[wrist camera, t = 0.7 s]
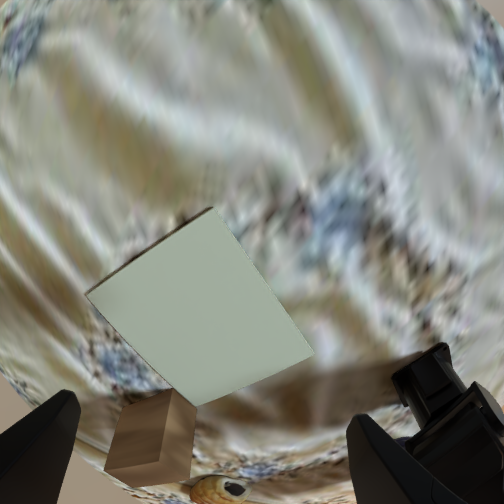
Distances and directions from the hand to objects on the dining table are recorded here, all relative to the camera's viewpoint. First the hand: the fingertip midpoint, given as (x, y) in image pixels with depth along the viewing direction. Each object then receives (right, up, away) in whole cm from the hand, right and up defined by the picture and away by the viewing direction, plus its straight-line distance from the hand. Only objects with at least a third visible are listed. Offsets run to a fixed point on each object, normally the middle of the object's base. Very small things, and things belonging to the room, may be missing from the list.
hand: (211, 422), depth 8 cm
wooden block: (-8, -10, +18) cm, 22 cm away
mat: (-3, 0, +15) cm, 15 cm away
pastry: (-3, -27, +26) cm, 38 cm away
